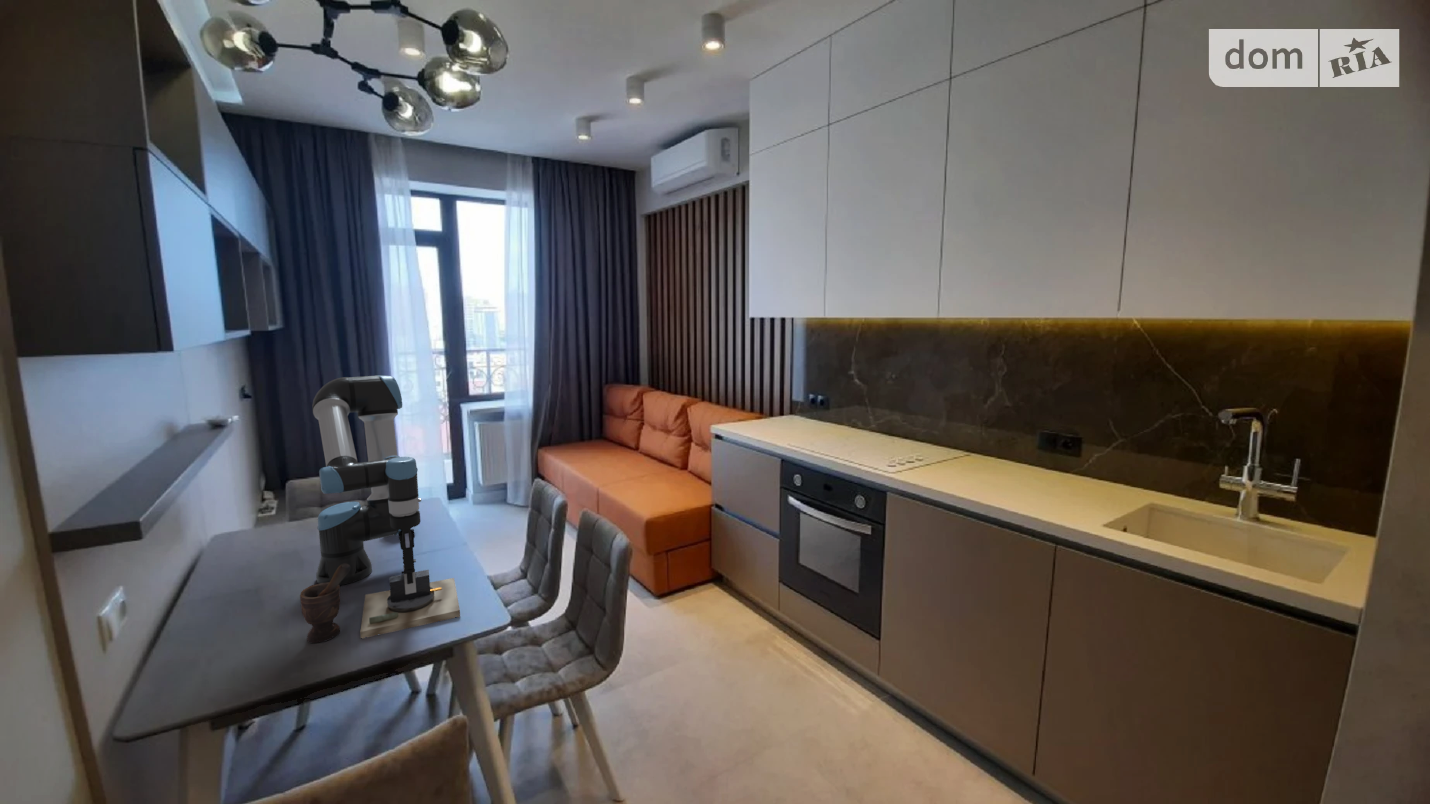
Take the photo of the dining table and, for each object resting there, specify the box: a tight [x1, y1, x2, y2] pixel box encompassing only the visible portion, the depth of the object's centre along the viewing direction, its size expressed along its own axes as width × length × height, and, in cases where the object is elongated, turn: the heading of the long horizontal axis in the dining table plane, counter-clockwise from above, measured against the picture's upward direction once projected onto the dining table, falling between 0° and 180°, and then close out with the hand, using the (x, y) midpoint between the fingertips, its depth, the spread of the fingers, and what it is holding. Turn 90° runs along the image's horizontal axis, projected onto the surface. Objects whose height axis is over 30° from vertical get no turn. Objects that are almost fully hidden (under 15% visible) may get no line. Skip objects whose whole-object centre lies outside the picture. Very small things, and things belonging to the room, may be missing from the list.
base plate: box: [359, 577, 461, 639], centre depth 163 cm, size 24×22×4 cm
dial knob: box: [387, 569, 442, 613], centre depth 162 cm, size 14×12×8 cm
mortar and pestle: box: [299, 563, 351, 644], centre depth 148 cm, size 12×9×20 cm
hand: (410, 589), depth 162 cm, fingers closed on dial knob, 4 cm apart
